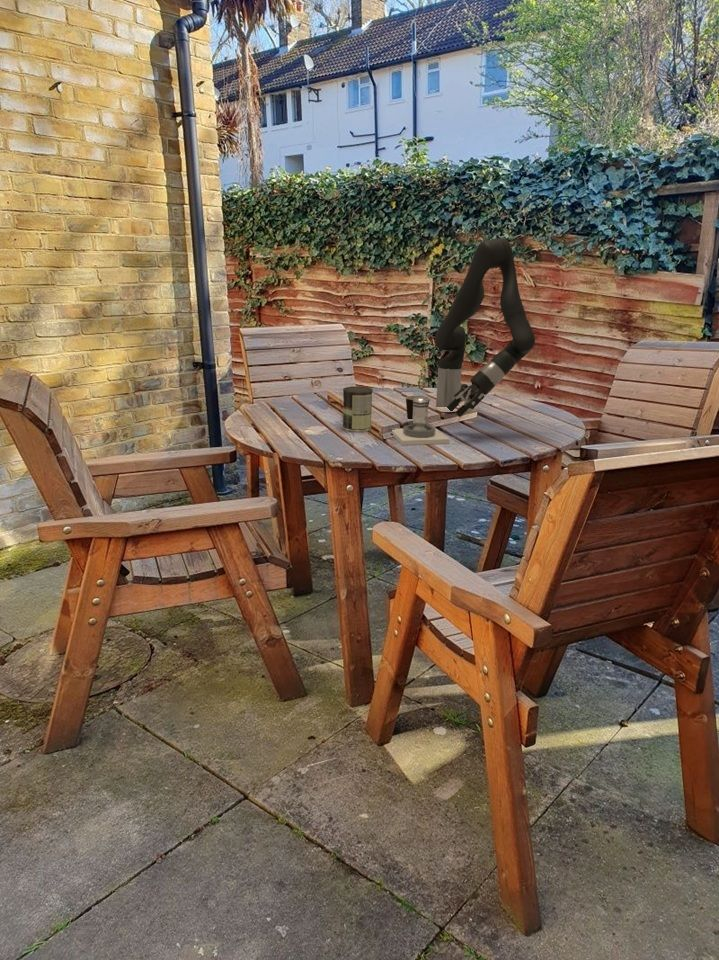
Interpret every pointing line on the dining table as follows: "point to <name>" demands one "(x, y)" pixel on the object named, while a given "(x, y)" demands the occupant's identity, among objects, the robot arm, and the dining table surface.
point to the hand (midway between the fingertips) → (453, 412)
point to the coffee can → (357, 409)
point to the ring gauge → (419, 436)
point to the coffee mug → (411, 405)
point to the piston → (420, 413)
